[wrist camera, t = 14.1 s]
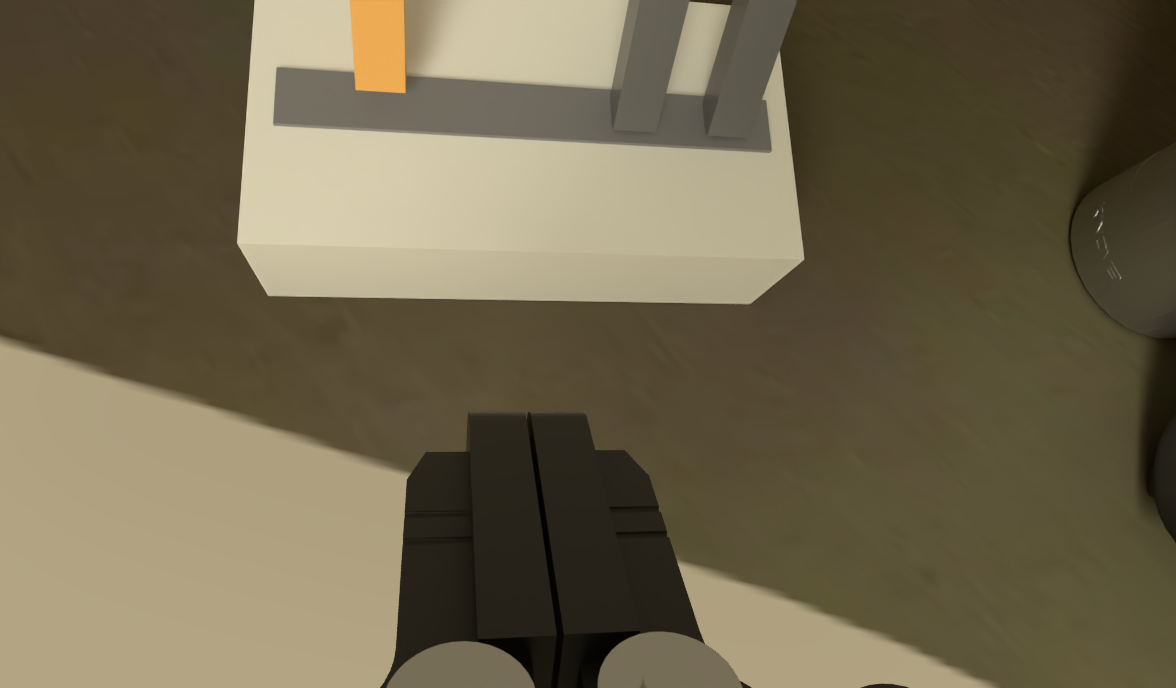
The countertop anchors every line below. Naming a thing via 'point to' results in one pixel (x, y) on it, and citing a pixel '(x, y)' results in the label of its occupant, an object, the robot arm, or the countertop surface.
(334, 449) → the countertop surface
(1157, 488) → the muzzle brake
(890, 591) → the countertop surface
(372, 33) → the lever
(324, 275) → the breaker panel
